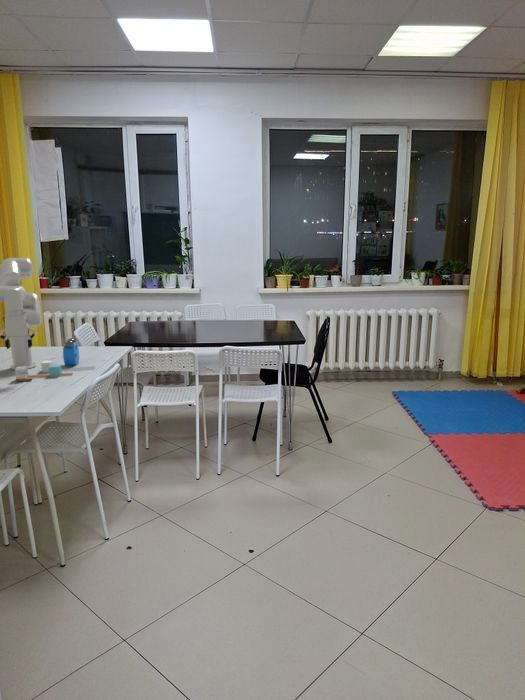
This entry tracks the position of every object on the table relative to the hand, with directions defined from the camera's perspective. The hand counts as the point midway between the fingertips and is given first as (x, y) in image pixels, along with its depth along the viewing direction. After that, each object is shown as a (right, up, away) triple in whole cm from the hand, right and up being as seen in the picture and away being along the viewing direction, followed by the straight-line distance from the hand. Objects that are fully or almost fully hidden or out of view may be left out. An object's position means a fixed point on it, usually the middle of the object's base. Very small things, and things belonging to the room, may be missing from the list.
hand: (19, 347), depth 229 cm
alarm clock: (+14, -10, +29) cm, 34 cm away
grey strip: (+17, -13, +17) cm, 28 cm away
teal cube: (+15, -14, +7) cm, 22 cm away
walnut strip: (+10, -15, +6) cm, 19 cm away
